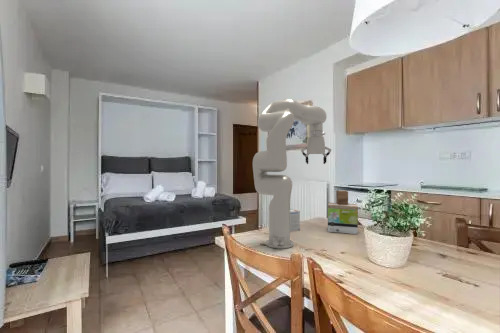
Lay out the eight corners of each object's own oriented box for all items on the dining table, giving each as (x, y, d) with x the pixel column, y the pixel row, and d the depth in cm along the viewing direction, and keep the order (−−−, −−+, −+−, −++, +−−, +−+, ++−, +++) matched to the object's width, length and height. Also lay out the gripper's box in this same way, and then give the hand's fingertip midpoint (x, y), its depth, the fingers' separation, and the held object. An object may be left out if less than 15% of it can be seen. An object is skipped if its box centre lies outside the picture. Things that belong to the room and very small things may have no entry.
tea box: (327, 232, 139) (327, 204, 139) (327, 227, 149) (327, 202, 149) (358, 234, 135) (358, 206, 135) (356, 229, 145) (356, 203, 144)
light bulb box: (279, 227, 151) (279, 208, 151) (289, 225, 154) (289, 207, 154) (290, 231, 141) (290, 211, 141) (300, 230, 144) (300, 210, 144)
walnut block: (348, 204, 139) (348, 191, 139) (338, 204, 139) (338, 191, 139) (345, 203, 144) (345, 190, 144) (336, 203, 144) (336, 190, 144)
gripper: (330, 134, 155) (330, 163, 155) (300, 135, 158) (300, 163, 158) (332, 133, 148) (332, 163, 148) (301, 134, 150) (301, 164, 150)
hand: (315, 163), depth 153 cm, fingers open, 9 cm apart
